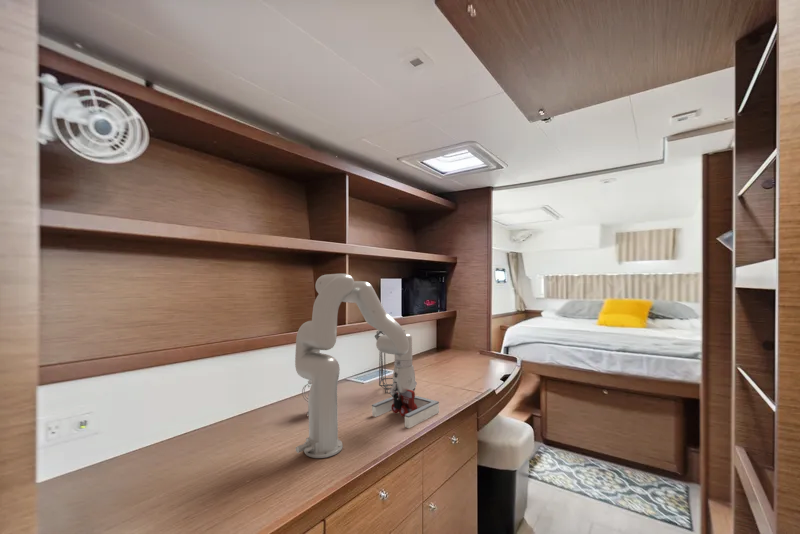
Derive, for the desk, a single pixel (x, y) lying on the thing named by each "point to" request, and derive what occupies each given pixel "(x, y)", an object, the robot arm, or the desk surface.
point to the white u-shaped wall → (423, 412)
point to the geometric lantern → (382, 366)
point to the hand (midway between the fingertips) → (403, 405)
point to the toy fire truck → (406, 403)
